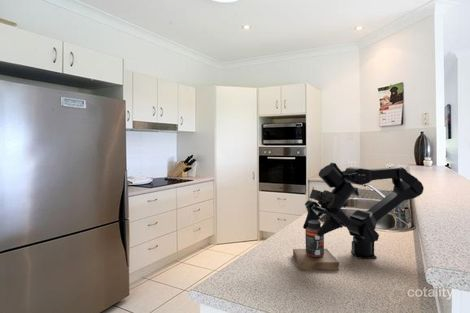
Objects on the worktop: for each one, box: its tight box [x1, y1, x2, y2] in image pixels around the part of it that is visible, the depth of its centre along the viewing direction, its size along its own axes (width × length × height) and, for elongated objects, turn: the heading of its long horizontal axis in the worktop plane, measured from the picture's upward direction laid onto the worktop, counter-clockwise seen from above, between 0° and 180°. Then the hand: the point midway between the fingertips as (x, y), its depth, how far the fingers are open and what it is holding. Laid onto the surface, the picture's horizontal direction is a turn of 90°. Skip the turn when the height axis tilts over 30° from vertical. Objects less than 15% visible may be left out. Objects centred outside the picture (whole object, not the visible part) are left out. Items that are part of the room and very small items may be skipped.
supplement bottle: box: [304, 220, 325, 258], centre depth 94 cm, size 6×6×11 cm
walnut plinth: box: [292, 248, 340, 271], centre depth 95 cm, size 12×12×2 cm
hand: (310, 231), depth 94 cm, fingers open, 8 cm apart
